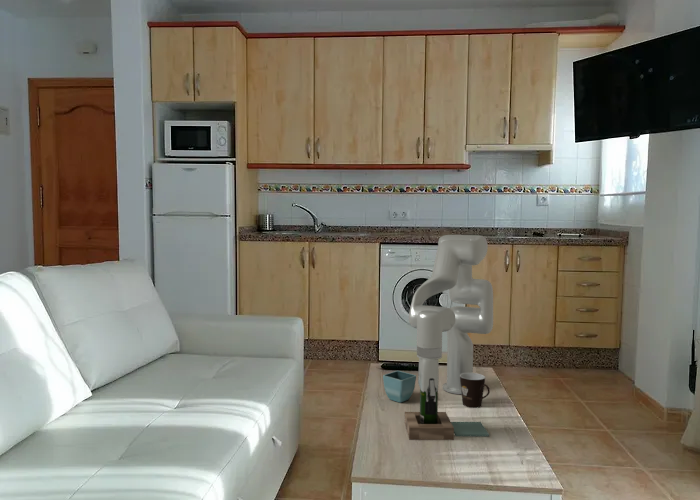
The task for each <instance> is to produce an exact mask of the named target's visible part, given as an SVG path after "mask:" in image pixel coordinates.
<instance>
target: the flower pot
mask: <svg viewBox="0 0 700 500" xmlns="http://www.w3.org/2000/svg"><path fill="white" fill-rule="evenodd" d="M382 379H383V387H384V392H385V394H386V395H387V398H388V399H389V400H390V401H393V402H397V403H403V402H406V401H408V400H409V399H410V398H411V397H412V395H413V393H414V390H415V388H416V387H415V386H416V381H417V375H416V374H412V373H409V372H405V371H401V370H395V371H392V372H389V373H385V374H383V375H382Z"/></svg>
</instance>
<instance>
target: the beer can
mask: <svg viewBox="0 0 700 500" xmlns="http://www.w3.org/2000/svg"><path fill="white" fill-rule="evenodd" d="M427 391H430V389H427ZM429 395H430V393H428V396H429ZM435 395H436V414H435V415H426V414H425V401H426V391H424V392H422V391H421V389H420V388H419V412H420V424H437V423H438V412H439V410H438V409H439V408H438V407H439V404H438V403H439V400H438V399H439V390H438V391H437V392H435Z"/></svg>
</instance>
